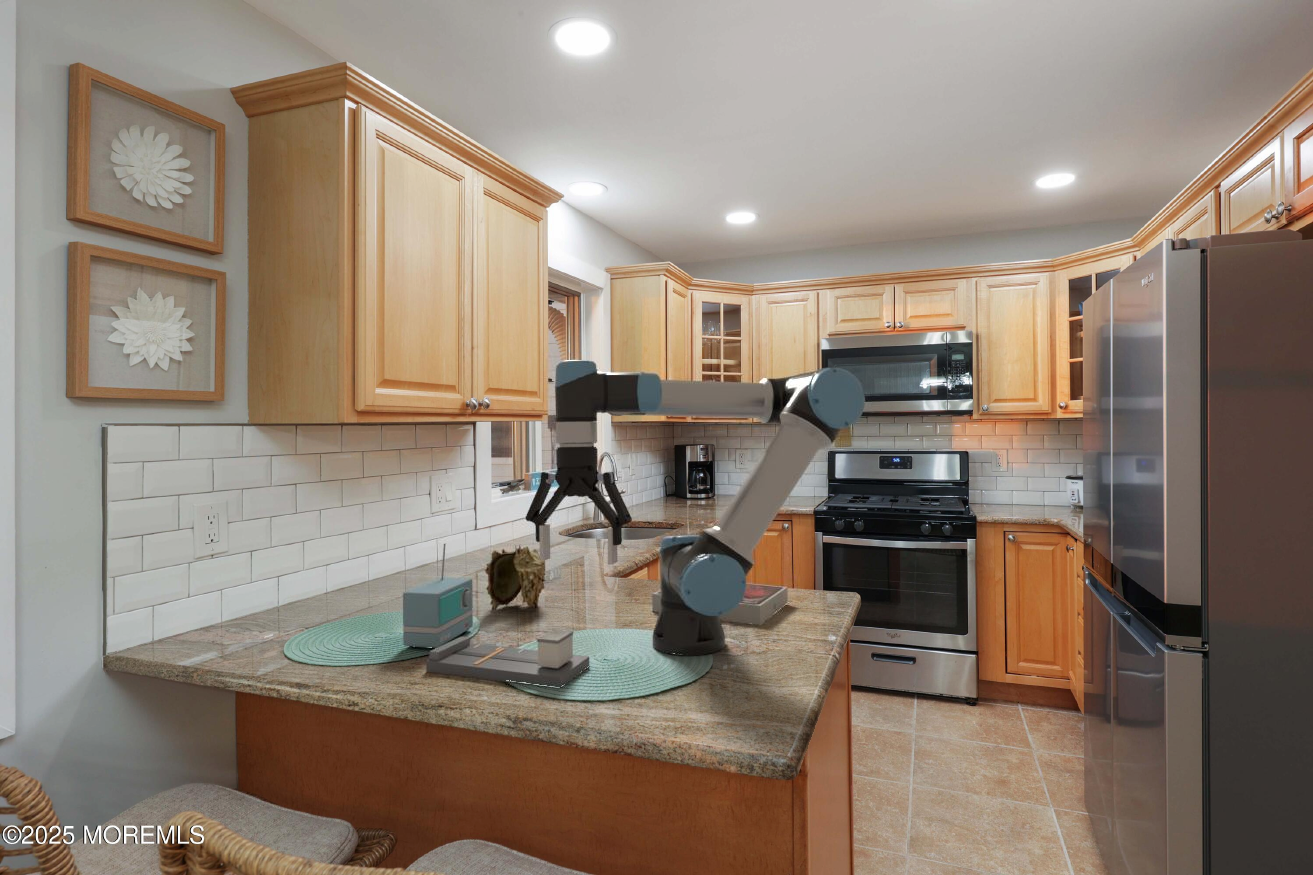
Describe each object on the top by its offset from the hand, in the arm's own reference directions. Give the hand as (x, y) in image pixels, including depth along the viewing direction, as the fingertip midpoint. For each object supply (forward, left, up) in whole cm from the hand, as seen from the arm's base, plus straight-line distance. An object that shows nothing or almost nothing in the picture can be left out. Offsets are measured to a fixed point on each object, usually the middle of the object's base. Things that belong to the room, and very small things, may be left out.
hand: (578, 561), depth 126 cm
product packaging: (-13, -56, -22) cm, 61 cm away
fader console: (+14, +1, -21) cm, 25 cm away
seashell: (+36, -39, -21) cm, 57 cm away
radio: (+38, -11, -21) cm, 45 cm away
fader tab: (+4, +1, -19) cm, 19 cm away
